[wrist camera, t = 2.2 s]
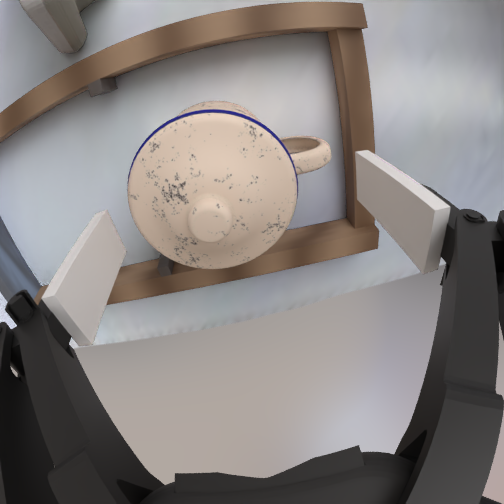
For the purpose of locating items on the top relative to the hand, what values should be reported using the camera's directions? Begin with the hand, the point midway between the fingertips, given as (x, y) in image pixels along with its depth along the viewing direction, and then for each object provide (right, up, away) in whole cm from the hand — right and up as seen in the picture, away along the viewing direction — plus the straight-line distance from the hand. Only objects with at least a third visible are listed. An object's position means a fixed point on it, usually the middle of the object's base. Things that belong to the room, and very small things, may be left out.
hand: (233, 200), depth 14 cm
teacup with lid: (-1, +6, +8) cm, 10 cm away
